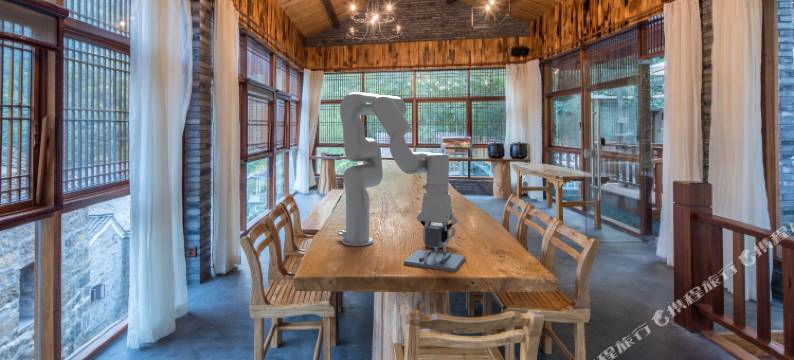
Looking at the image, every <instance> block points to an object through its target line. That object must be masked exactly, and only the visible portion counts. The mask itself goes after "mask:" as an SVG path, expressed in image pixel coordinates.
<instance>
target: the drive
mask: <svg viewBox="0 0 794 360" xmlns="http://www.w3.org/2000/svg"><path fill="white" fill-rule="evenodd" d="M442 231H443V225H442V223H437V222H431V224H430V225H429V226H428V227H427V228H425V244H424V245H425V247H426V246H427V247H428V246H434V247H440V246H441V245H442V244H443V243H444V242H442ZM446 240H447V239H446Z"/></svg>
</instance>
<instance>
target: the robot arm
mask: <svg viewBox="0 0 794 360" xmlns="http://www.w3.org/2000/svg"><path fill="white" fill-rule="evenodd" d="M406 113H407V104H406V103H405V101H404V99H402V98H401V97H399V96H396V95H395V96H393V95H387V94H385V95H384V94H383V95H382V94H377V93H376V94H375V93H368V92H358V91H356V92H354V91H353V92H350V93H348V94H347V95H345V96H344V97H343V98H342V100H341V102H340V106H339V116H340V120H341V126H342V132H343V133H342V134H343V145H344V155H345V158H346V159H347V160H348V161H349V162H355V163H357V162H359V163H361V162H362V163H363V164H357V165H352V166H349V167H347V168H346V169H345V170H344V173H343V176H342V178H343V186H344V192H345V230H341V229H339V230H338V231H337V236H338V237H342V239H341V242H342V244H343V245H345V246H350V247H365V246H369V245H372V244H373V243H374V239H373V238H372V237H370V195H369V193H368V191H367V189H368V188H373V187H376V186H379V185H380V184H381V183H382V180H383V172H384V171H383V161H382V151H381V146H380V145H379V142H378V141H377V140H375V138H372V137H366V134H365V126H364V123H363V121H362V118H360V116H362V115H363V116H374V117H375V116H376V118H377V119H378V121H379V122H380V124H381V126H382V127H383V129H384V130H385V132H386V134H387V135H388V138H389V141H388V142H389V153H390V155H391V156H392V159H393V160H394V162H395V163H396V165H397V166H398V168H399V169H400V170H401V171H402V172H403V173H405V174H407V175H414V174H424V173H426V183H425V184H422V189H424V190H425V192H423V197H422V203H421V212H420V213H419V214H418V215H417V217H416V220H417V221H418V222H419V223H420V224H421V226H422V227H424V228H427V227H428V226H429V225H431V224H432V223H434V222H436V223H442V225H443V231H442V242H445V241H446V239H447V238H448V229H449V228H450V227H453V226H455V225H456V224H457V223H458V222H459V221H458V219H457V218H456V216H455V214H454V213H453V204H452V195H451V193H449V180H450V178H449V177H450V176H449V175H450V174H449V173H450V157H449V155H448V153H442V152H441V153H439V152H436V153H435V152H434V153H433V152H428V151H411V149H410V147H409V145H408V144H407V142H406V140H405V135H406V134H407V133H408V132H409V130H410V123H409V121H407V119H406V117H405V115H406ZM450 221H451V222H450ZM449 222H450V223H449Z"/></svg>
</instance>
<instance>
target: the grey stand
mask: <svg viewBox="0 0 794 360" xmlns="http://www.w3.org/2000/svg"><path fill="white" fill-rule="evenodd" d="M465 260H466V255H464V254H463V255H462V254H456V253H454V254H453V253H451V252H447V245H446V243H443V248H442V252H440V251H439V248H438V247H435V248H434V251H433V250H429V249H427V250H426V249H417V250H416V251H415V252H413V253H412V254H411V255H409V256H408V257H406V259H405V260H404V261H403V265H404V264H407V265H406V266H411V265H413V267H418V266H420V267H419V268H425V267H427V268H426V269H431V268H433V270H438V269H440V271H445V270H446V271H445V272H454V273H455V272H456V271H457V270H458V269H459V268H460V266H461V265H462V263H463V262H464V261H465Z"/></svg>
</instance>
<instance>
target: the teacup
mask: <svg viewBox="0 0 794 360" xmlns="http://www.w3.org/2000/svg"><path fill="white" fill-rule="evenodd" d="M451 230H452V232H451V233H450V231H451ZM455 234H456V229H455V228H454V227H453V226H451V227H450V228H449V229H448V238H447V240H446V241H445V242H444V243H446V246H447V245H448V244H449V240H450V239H452V237H454V235H455ZM422 242H423V244H424V245H425V228H424V226H422ZM427 248H430V249H435V247H434V246H427ZM438 249H443V244H442V245H441V246H440V247H438Z"/></svg>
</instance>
